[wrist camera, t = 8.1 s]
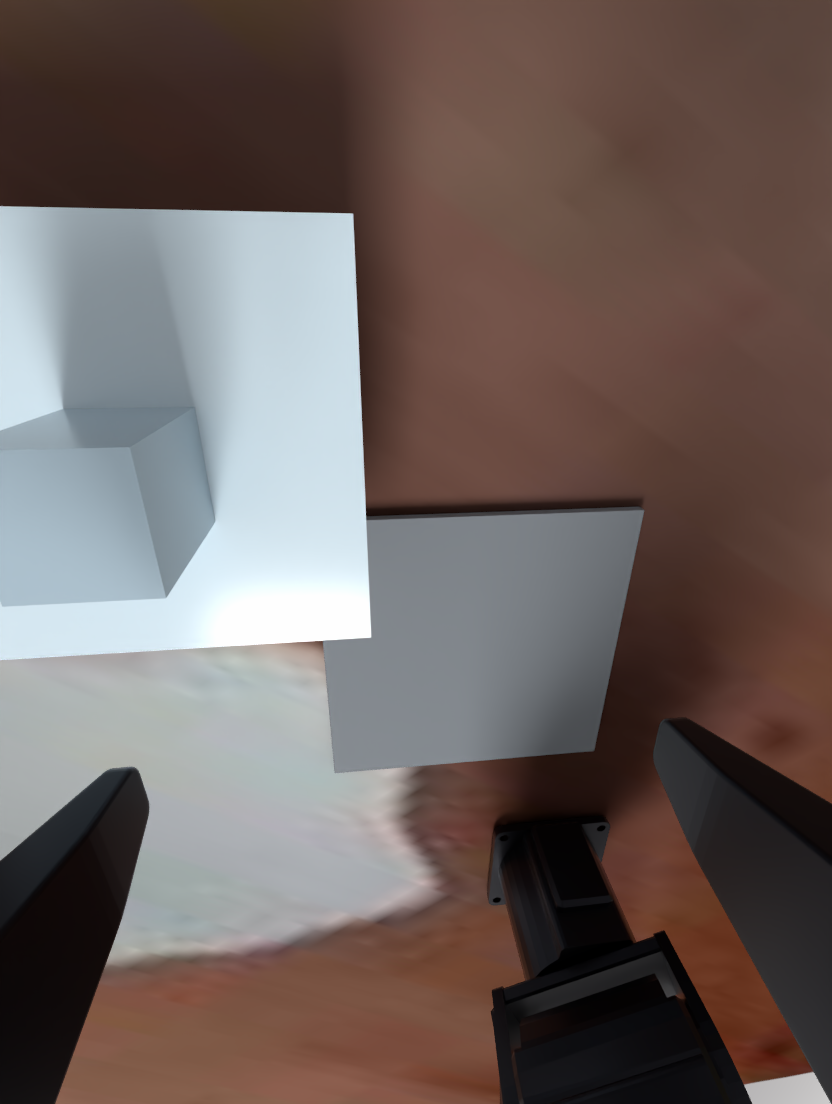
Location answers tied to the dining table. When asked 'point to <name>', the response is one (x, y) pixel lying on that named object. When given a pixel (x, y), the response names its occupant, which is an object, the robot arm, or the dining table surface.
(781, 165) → the dining table surface
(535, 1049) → the robot arm
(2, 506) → the lid
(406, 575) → the mat
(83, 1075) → the dining table surface
